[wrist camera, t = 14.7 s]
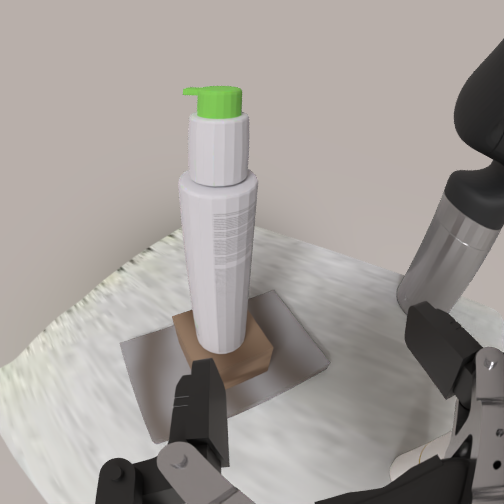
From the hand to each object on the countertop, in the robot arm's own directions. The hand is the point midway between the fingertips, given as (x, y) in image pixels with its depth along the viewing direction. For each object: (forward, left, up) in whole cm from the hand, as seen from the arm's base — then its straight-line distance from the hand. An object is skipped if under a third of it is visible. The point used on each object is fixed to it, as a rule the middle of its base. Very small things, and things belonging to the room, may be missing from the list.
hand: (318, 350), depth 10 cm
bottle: (0, -10, -13) cm, 16 cm away
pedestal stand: (0, -10, -19) cm, 22 cm away
